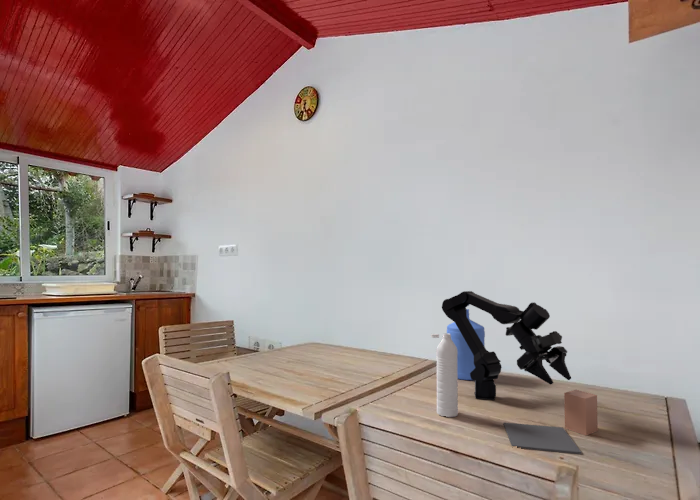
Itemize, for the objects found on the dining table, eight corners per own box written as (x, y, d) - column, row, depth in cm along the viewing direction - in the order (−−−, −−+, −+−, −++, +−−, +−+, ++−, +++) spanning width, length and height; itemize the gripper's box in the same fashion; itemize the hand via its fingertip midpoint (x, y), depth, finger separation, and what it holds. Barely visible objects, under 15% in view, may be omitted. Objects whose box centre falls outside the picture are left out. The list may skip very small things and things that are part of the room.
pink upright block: (564, 428, 117) (564, 392, 117) (576, 424, 120) (575, 389, 120) (586, 435, 112) (585, 398, 112) (597, 430, 115) (597, 395, 115)
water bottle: (450, 409, 132) (450, 331, 133) (462, 416, 126) (461, 334, 127) (426, 412, 129) (426, 332, 130) (437, 419, 123) (436, 336, 124)
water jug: (479, 382, 162) (479, 312, 163) (441, 377, 171) (441, 309, 172) (489, 374, 176) (488, 309, 177) (453, 369, 184) (453, 306, 185)
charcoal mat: (512, 447, 104) (512, 445, 104) (503, 424, 120) (503, 422, 120) (581, 454, 100) (581, 452, 101) (562, 429, 116) (562, 427, 116)
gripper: (524, 324, 122) (561, 370, 112) (560, 320, 131) (597, 362, 122) (502, 347, 128) (535, 392, 118) (538, 341, 138) (571, 382, 128)
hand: (561, 381), depth 121 cm, fingers open, 9 cm apart
